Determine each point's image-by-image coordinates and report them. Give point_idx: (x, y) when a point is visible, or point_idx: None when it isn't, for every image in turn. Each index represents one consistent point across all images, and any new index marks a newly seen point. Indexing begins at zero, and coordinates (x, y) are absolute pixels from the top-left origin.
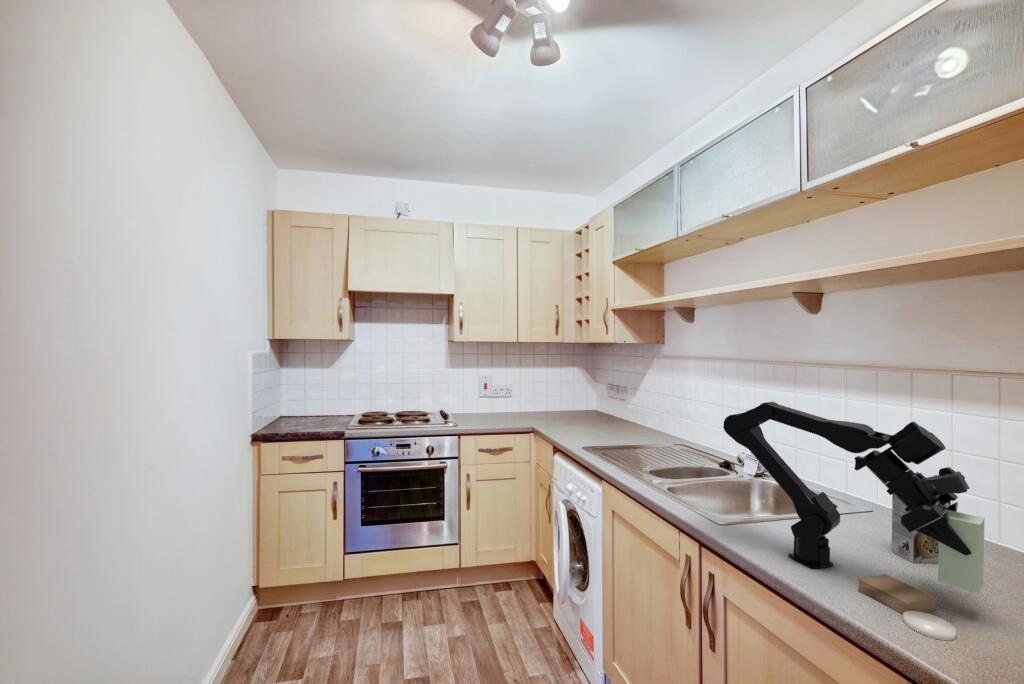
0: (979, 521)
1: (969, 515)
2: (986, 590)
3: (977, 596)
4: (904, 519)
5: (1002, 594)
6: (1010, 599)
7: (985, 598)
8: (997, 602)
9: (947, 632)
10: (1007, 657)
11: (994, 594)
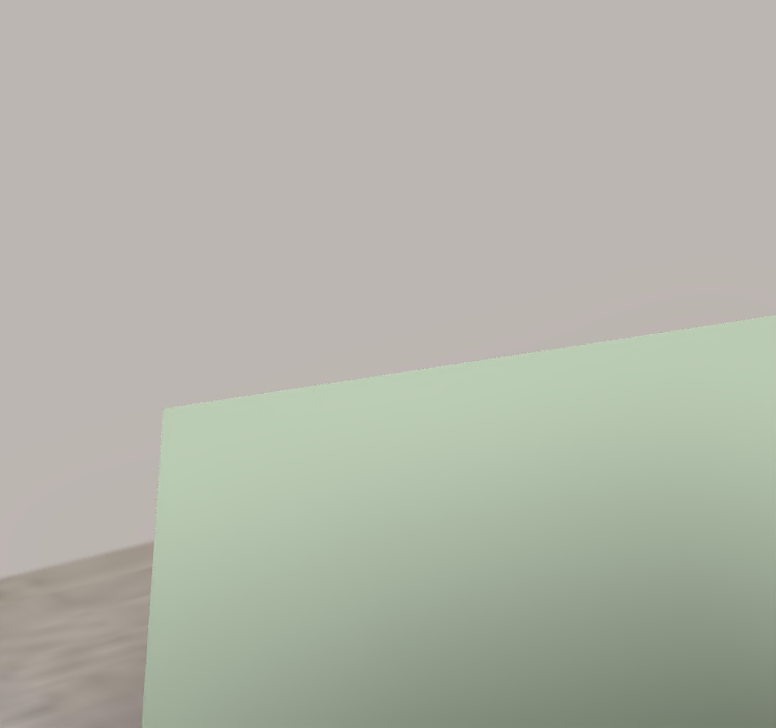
0: (573, 381)
1: (240, 688)
2: (4, 688)
3: (135, 686)
4: None
5: (4, 623)
6: (47, 583)
7: (131, 653)
8: (137, 605)
9: None
10: None
11: (35, 645)
